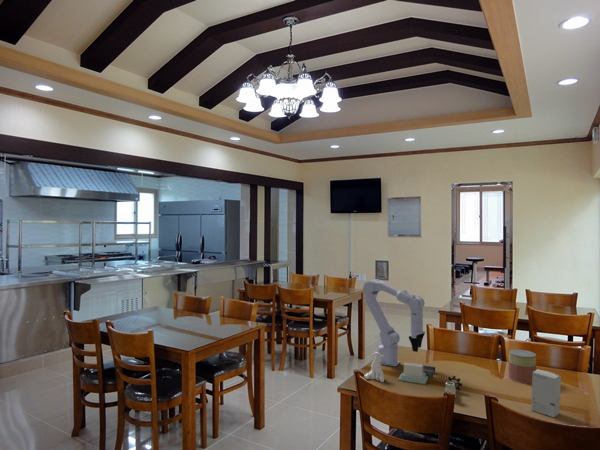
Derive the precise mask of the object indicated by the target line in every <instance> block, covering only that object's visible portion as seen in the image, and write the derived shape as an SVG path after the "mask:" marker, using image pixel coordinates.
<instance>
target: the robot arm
mask: <svg viewBox="0 0 600 450" xmlns="http://www.w3.org/2000/svg"><path fill="white" fill-rule="evenodd" d="M362 290H363V291H364V292H363V293H364V300H365V303H366V305H367V307H368V309H369V310H370V313H371V314H372V317H373V319H374V320H375V323H376V324H377V326H378V329H379V337H380V342H381V344H379V346H378V350H377V352H378V353H380V354H381V356H382V355H384V357H383V358H382V359H381V361H380V363H381V365H382V366H383V365H384V366H390V367H391V366H392V367H397V366H398V365H399V364H400V362H401V361H400V360H399V359H398V356H399V355H398V351H399V349H398V345H399V344H398V343H399V342H400V338H401V337H400V334H399V333H398V332H397V331H396V330H395V328H394V327H392V325H391V326H390V324H389V322H388V319H387V318H386V316H385V314H384V311H383V310H382V308H381V306H380V304H379V302H378V299H377V296H378V294H379V292H380V291H383V292H385V293H387V294H389V295H391V296H394V297H395V298H396V300H397V301H398V302H400V303H403V305H406V306H408V307H409V308H410V331H409V333H410V334H411V335H409V336H408V340H409V342H410V345H411V348H412V352H415V353H418V351H419V348H422V345H423V344H422V343H423V338H424V337H425V334H426V331H425V330H424V328H423V327H424V326H423V325H424V317H423V316H424V310H423V309H424V308H423V307H425V300H424V298H423V297H421V296H416V294H411V293H410V292H408V291H407V290H406V289H401V290H398V289H396V288H395V287H394V286H391V285H389V283H386V282H384V280H380V279H379V278H374V279H371V280H366V281H365V282H364V284H363V286H362Z"/></svg>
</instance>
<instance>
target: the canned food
mask: <svg viewBox="0 0 600 450" xmlns="http://www.w3.org/2000/svg"><path fill="white" fill-rule="evenodd" d="M536 370H537V354H536V353H535V352H533V351H530V350H525V349H510V350H508V379H509V380H511V381H512V382H515V383H519V384H524V383H525V384H527V383H532V379H533V372H534V371H536ZM527 385H528V384H527Z"/></svg>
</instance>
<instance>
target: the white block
mask: <svg viewBox="0 0 600 450" xmlns="http://www.w3.org/2000/svg"><path fill="white" fill-rule="evenodd" d="M423 365H424V364H422V363H415V362H411V361H410V362H408V361H405V362H404V363H403V373H404V375H410V376H417V377H423Z"/></svg>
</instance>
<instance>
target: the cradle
mask: <svg viewBox="0 0 600 450" xmlns="http://www.w3.org/2000/svg"><path fill="white" fill-rule="evenodd" d="M397 378H398V379H397V380H398V381H403V382H409V383H415V384H420V385H426V383H427V382H428V380H429V377H427V376H426V373H423V377H417V376H410V375H404V372H401V374H399V377H397Z"/></svg>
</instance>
